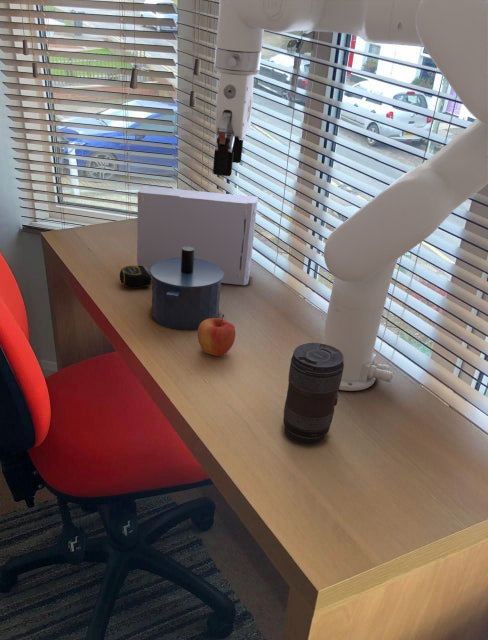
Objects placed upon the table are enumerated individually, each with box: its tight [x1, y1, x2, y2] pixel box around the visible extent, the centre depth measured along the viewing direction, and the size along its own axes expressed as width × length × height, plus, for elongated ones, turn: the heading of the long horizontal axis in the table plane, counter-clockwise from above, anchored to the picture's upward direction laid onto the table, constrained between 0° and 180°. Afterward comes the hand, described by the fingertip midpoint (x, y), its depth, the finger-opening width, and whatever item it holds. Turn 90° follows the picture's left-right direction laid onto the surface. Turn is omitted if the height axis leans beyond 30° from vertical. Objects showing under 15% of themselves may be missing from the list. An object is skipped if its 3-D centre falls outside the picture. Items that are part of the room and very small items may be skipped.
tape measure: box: [119, 265, 152, 289], centre depth 152 cm, size 7×7×4 cm
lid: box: [150, 246, 224, 289], centre depth 135 cm, size 15×15×6 cm
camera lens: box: [283, 342, 344, 446], centre depth 103 cm, size 8×8×15 cm
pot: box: [151, 276, 222, 331], centre depth 139 cm, size 14×20×10 cm
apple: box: [196, 313, 236, 357], centre depth 126 cm, size 7×7×8 cm
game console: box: [136, 185, 259, 286], centre depth 154 cm, size 6×27×20 cm, turn 81°
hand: (227, 168), depth 117 cm, fingers open, 9 cm apart
